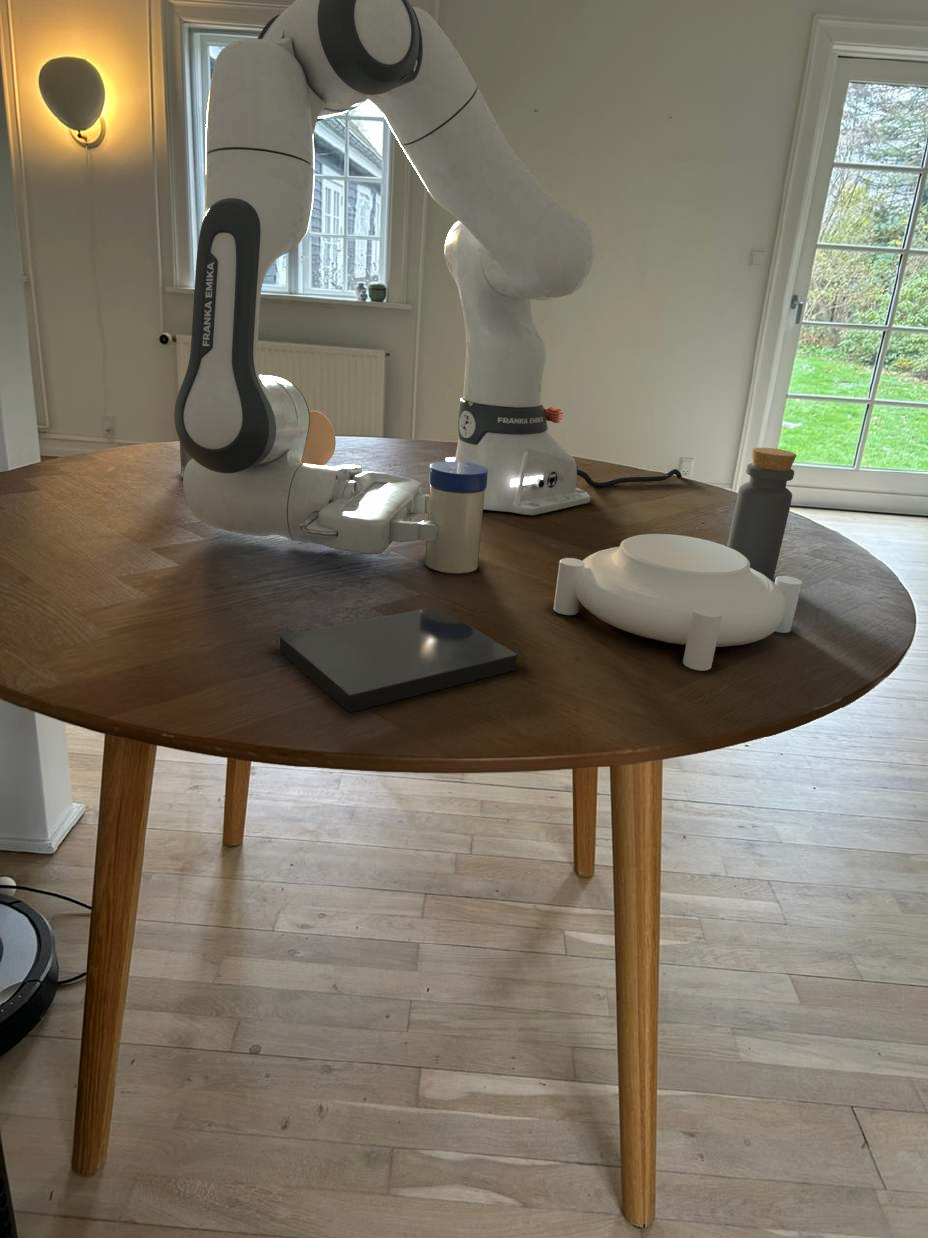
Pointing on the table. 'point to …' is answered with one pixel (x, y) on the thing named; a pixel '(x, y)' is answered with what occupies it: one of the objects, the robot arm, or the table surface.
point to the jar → (455, 530)
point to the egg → (319, 440)
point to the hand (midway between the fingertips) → (445, 520)
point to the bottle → (763, 509)
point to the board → (395, 657)
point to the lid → (458, 476)
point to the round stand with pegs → (679, 594)
